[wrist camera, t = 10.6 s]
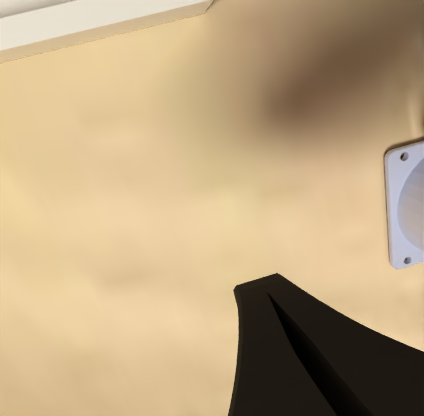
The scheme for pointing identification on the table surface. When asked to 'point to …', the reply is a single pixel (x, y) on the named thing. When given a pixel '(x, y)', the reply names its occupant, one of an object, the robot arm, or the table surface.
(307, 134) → the table surface
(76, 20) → the tray
